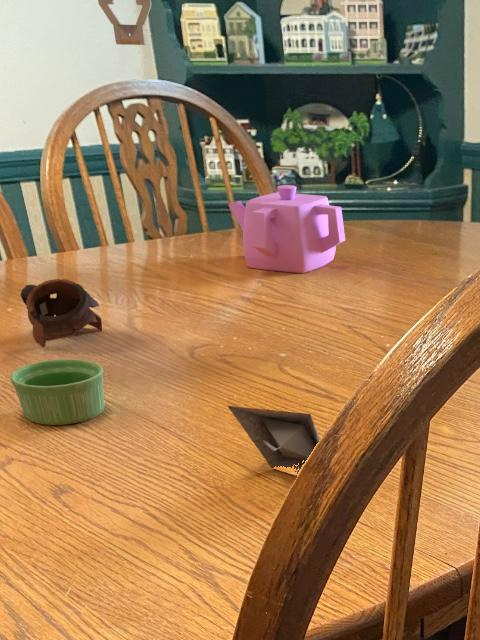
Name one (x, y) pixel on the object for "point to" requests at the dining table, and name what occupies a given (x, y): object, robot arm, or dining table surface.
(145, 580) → the dining table surface
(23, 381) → the ramekin
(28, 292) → the brown hollow shell
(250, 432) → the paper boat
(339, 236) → the teakettle
